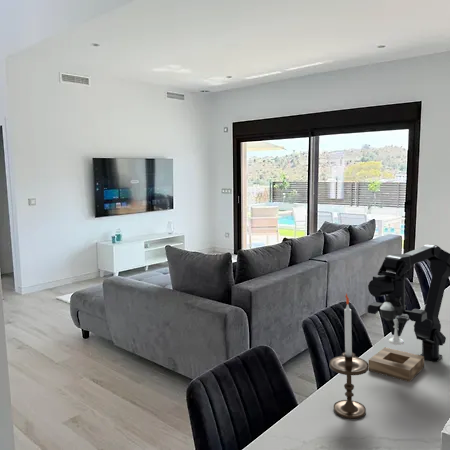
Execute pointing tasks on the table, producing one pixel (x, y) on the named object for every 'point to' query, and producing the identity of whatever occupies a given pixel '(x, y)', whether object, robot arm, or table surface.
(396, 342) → the chess piece
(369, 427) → the table surface
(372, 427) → the table surface
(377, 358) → the tan wooden square block
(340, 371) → the candlestick
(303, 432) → the table surface
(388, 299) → the robot arm
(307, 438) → the table surface
